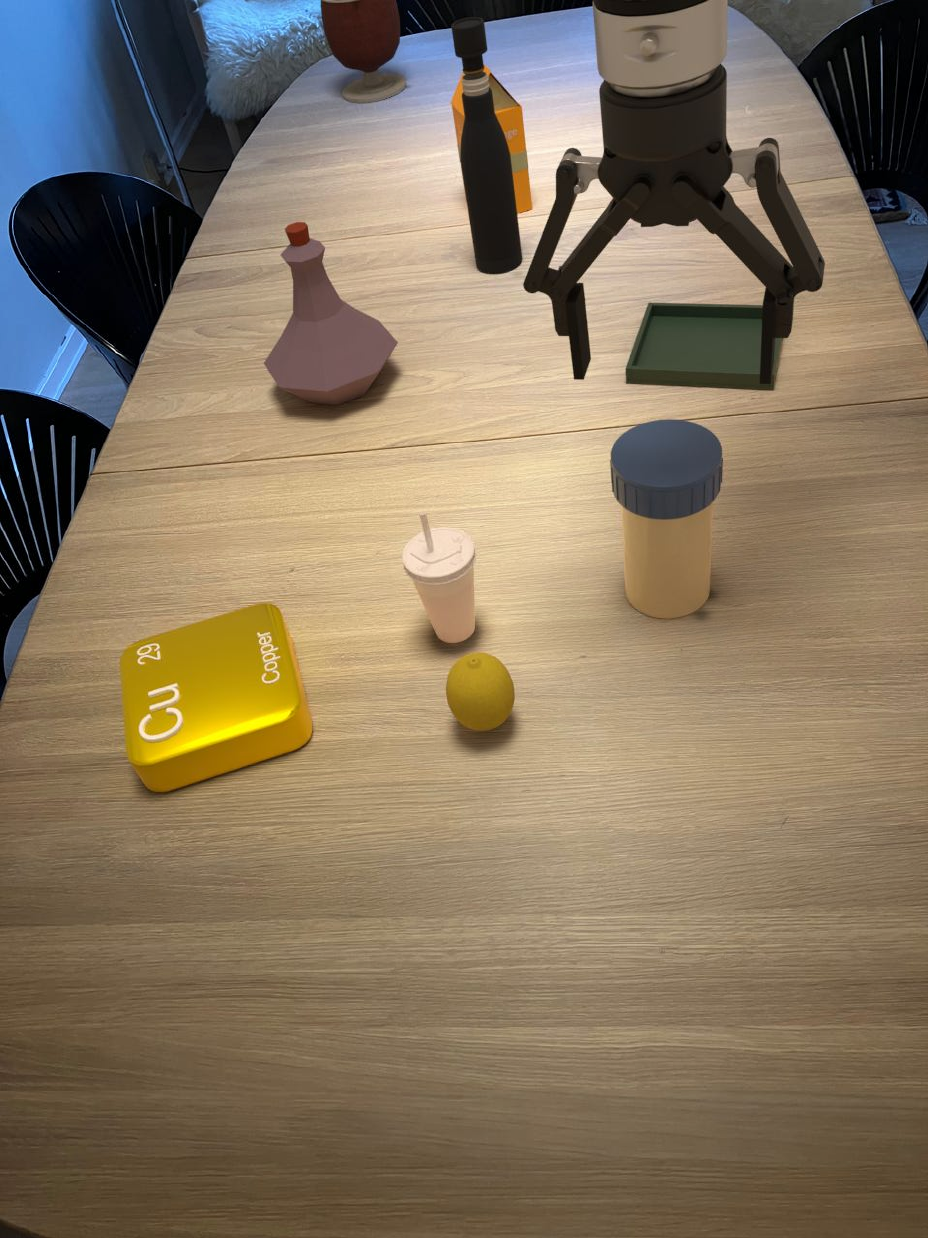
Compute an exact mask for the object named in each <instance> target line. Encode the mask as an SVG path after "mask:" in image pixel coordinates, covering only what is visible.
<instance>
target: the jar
mask: <svg viewBox="0 0 928 1238" xmlns="http://www.w3.org/2000/svg"><path fill="white" fill-rule="evenodd" d="M713 508H714V501H713V502H712V503H711V504H710V505H709V506H708V507H706V508H705V509H703V510H702V511H700V512H698V513H695V514H693V515H690V516H687V517H683V518H678V519H668V520H661V519H650V518H646V517H642V516H639V515H636V514H634V513H632V512H630V511H628V510H626V509H625V508H624V507H623V506H621V505H620V516H621V517H620V518H621V536H622V537H621V538H622V557H623V574H624V575H623V576H624V577H623V578H624V592H625V597H626V599H627V601H628V603H629V604H630V605H631V606H632V607H633V608H634V609H635V610H637V611H638V612H639V613H642V614H643V615H645V616H649V617H651V618H656V619H663V620H664V619H665V620H669V619H671V620H672V619H678V618H683V617H686V616H688V615H691V614H694V613H695V612H696V611H698V610H699V609H701V608H702V607H703V606H704V604H705V603H706V601H707V600H708V598H709V596H710V591H711V569H712V568H711V567H712V539H713V537H712V534H713Z"/></svg>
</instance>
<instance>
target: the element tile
mask: <svg viewBox="0 0 928 1238" xmlns="http://www.w3.org/2000/svg"><path fill="white" fill-rule="evenodd" d="M292 638H293V637H292V636H291V633H290V630H289V627H288V626H287V623H286V621H285V618H284V616H283V613H282V611H281V609H280V608H279V607H278V606H277V605H276V604H274V603H270V602H259V603H256V604H255V603H254V604H252V605H249V606H246V607H242V608H239V609H236V610H232V611H228V612H226V613H222V614H219V615H216V616H213V617H209V618H206V619H204V620H200V621H196V622H194V623H189V624H187V625H184V626H181V627H177V628H174V629H170V630H167V631H164V632H160V633H158V634H155V635H152V636H148V637H145V638H141V639H139V640H136V641H135V642H133V643H131V644H130V645H128V646H126V648H125V649H124V650H123V652H122V654H121V656H120V658H119V674H120V684H121V685H120V689H121V700H122V701H121V702H122V716H123V717H122V718H123V729H124V744H125V745H124V746H125V754H126V759H127V760H128V762H129V763H130V765H131V767H132V768H133V770H134V771H135V772H136V774H137V775H138V778H140V779H139V780H141V782H142V783H143V785H144V786H145V788H146V789H148V790H149V791H152V792H154V793H167V792H168V793H169V792H171V791H174V790H178V789H180V788H184V787H188V786H189V785H193V784H196V783H199V782H202V781H205V780H208V779H211V778H214V777H217V776H220V775H221V776H222V775H223V774H227V773H230V772H232V771H233V772H234V771H236V770H238V769H241V768H245V767H248V766H251V765H254V764H257V763H260V762H264V761H267V760H269V759H272V758H276V757H279V756H283V755H285V754H288V753H291V752H295V751H296V750H298V749H300V748H301V747H303V746H305V745H306V744H307V742H309V740H310V739H311V737H312V734H313V733H312V732H313V729H314V728H313V721H312V716H311V712H310V708H309V704H308V701H307V700H308V699H307V696H306V695H307V694H306V691H305V687H304V683H303V678H302V675H301V671H300V666H299V663H298V658H297V654H296V650H295V647H294V642H293V639H292Z"/></svg>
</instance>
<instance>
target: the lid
mask: <svg viewBox="0 0 928 1238" xmlns="http://www.w3.org/2000/svg"><path fill="white" fill-rule="evenodd" d="M609 462H610V463H609V464H610V476H611V477H610V480H611V491H612V494H613V496H614V498H615V499H616V502H617V503H618V504H620V507H621V506H623V507H624V508H625V509H626V510H628V511H630V512H632V513H634V514H636V515H639V516H642V517H646V518H650V519H661V520H668V519H678V518H683V517H687V516H690V515H693V514H695V513H698V512H700V511H702V510H703V509H705V508H706V507H708V506H709V505H710V504H711V503H712V502H713V503H714V501H715V500H716V499H717V497H718V496H719V494H720V492H721V488H722V483H723V473H724V472H723V471H724V470H723V469H724V458H723V447H722V443H721V441H720V440H719V438H718V436H716V434H715V433H714V432H713V431H711V430H710V429H708V428H707V427H705V426H703V425H701V424H698V423H696V422H693V421H688V420H683V419H673V418H672V419H671V418H669V419H656V420H651V421H647V422H644V423H640V424H637V425H635V426H633V427H631V428H629V429H627V430H626V431H625V432H623V433H622V434H620V436H619V437H618V438H617V439H616V440H615V441H614V443H613V445H612V447H611V450H610V459H609Z"/></svg>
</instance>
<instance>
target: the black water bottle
mask: <svg viewBox="0 0 928 1238" xmlns="http://www.w3.org/2000/svg"><path fill="white" fill-rule="evenodd" d="M450 27H451V28H450V29H451V34H452V41H453V49H454V54H455V57H456V58H460V59H461V63H462V65H461V66H462V73H464V74H465V75H464V76H463V77H462V85H463V88H462V89H463V91H464V92H463V93H462V102H463V109H464V116H465V119H464V125H463V131H462V137H461V153H460V159H459V162H460V161H461V164H460V169H461V168H462V171H461V175H462V174H463V177H462V182H463V181H464V184H463V189H464V188H465V191H464V195H465V194H466V197H465V202H466V201H467V202H466V207H467V214H468V221H469V227H470V235H471V241H472V247H473V253H474V260H475V266H476V269H477V270H479V271H480V272H481V273H484V274H490V275H497V274H498V275H499V274H503V273H507V272H508V273H509V272H510V271H513V270H515V269H516V268H518V267H519V266H520V265H521V264H522V262H523V252H522V243H521V234H520V227H519V217H518V214H517V207H516V199H515V190H514V181H513V173H512V164H511V155H510V151H509V147H508V144H507V141H506V138H505V134H504V132H503V130H502V127H501V125H500V123H499V121H498V119H497V116H496V114H495V111H494V103H493V94H492V90H491V88H489V85H490V84H489V82H488V80H489V78H488V76H487V73H486V72H484V71H483V70H484V69H485V67H484V65H485V63H484V57H483V55H484V54H486V53H487V51H488V43H487V36H486V35H487V34H486V27H485V20H484V19H483V18H482V17H478V16H471V17H469V16H468V17H463V18H461V19H458V20H456V21H454V22H453V23H452V24H451V26H450Z"/></svg>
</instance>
